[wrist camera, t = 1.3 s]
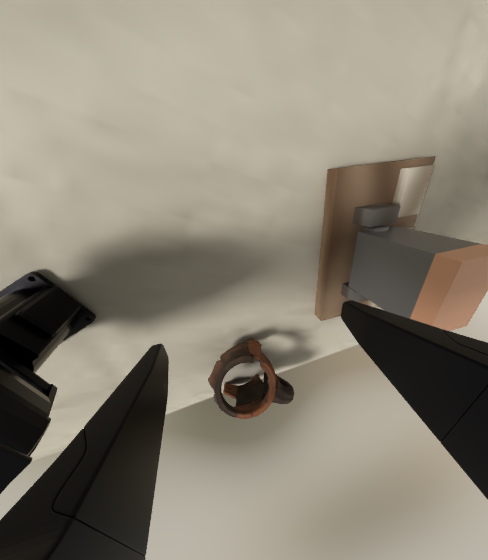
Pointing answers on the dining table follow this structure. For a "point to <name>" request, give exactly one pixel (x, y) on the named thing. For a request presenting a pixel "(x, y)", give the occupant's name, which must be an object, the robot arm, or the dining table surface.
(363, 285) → the grey block
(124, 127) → the dining table surface
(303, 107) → the dining table surface
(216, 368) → the brown curved piece
